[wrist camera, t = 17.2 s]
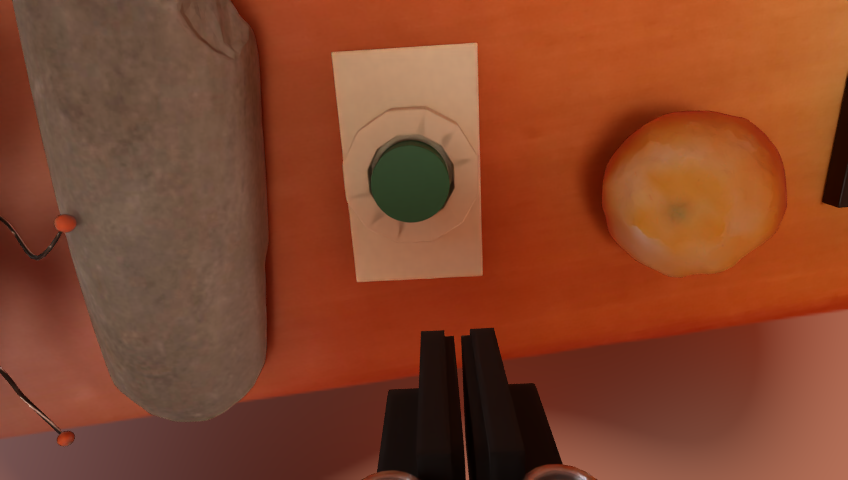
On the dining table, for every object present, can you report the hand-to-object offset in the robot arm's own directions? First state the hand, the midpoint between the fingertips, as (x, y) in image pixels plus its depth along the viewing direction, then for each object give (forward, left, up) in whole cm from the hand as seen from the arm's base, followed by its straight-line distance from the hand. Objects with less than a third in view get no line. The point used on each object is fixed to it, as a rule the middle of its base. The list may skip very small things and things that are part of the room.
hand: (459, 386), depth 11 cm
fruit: (+1, -12, -18) cm, 22 cm away
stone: (0, +9, -14) cm, 17 cm away
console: (+2, +1, -18) cm, 18 cm away
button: (+2, +1, -14) cm, 14 cm away
